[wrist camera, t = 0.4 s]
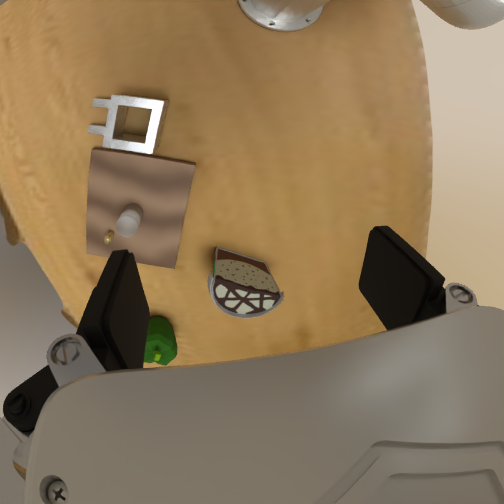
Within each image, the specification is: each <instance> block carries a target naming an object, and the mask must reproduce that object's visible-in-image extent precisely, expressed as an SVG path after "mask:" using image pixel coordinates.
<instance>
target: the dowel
mask: <svg viewBox="0 0 504 504" xmlns="http://www.w3.org/2000/svg"><path fill="white" fill-rule="evenodd" d="M114 234H115V233H114V231H113V230H109V231H108V232H107V234H106V236H105V238H104V243H106V244H110V242H111V240H112V238H113V236H114Z"/></svg>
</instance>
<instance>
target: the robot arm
mask: <svg viewBox="0 0 504 504" xmlns="http://www.w3.org/2000/svg"><path fill="white" fill-rule="evenodd" d="M329 1H331V0H245V2H243V1H242V0H238V2H239V5H240V7H241V9H242V10H243V12H244V13H245V14H246V15H247V16H248V18H249V19H251V20H252V21H253V22H255V23H256V24H258V25H260V26H262V27H264V28H267V29H270V30H274V31H280V32H291V31H297V30H301V29H303V28H305V27H308V26H309V25H311V24H313V23H314V22H315V21H316V20H317V19H318V18H319V16H320V14H321V12H322V10H323V5H324V4H326V3H327V2H329ZM420 1H421V2H423V3H424V4H425V5H426V6H427V7H428V8H429V9H431V10H432V11H433V12H434V13H435V14H436V15H438V16H439V17H440V18H441V19H443V20H444V21H446V22H447V23H449V24H451V25H453V26H455V27H459V28H462V29H469V30H471V29H480V28H485V27H488V26H491V25H493V24H495V23H497V22H499V21H501V20H502V19H504V0H420ZM306 20H307V21H308V22H306ZM269 24H272V26H270V25H269ZM444 281H445V278H444V277H443V276H442V275H441V274H440V273H439V272H438V271H437V270H436V269H435V268H434V267H433V266H432V265H431V264H430V263H429V262H427V260H426V259H425V258H423V257H422V256H421V255H420V254H419V253H418V252H417V251H416V250H415V249H414V248H413V247H411V246H410V245H409V244H408V243H407V242H406V241H405V240H404V239H402V238H401V237H400V236H399V235H398V234H397V233H395V232H394V231H393V230H392V229H391V228H390V227H388V226H375V227H374V228H373V230H371V231H370V233H369V238H368V243H367V248H366V253H365V257H364V262H363V267H362V271H361V275H360V280H359V289H360V291H361V293H362V294H363V296H364V297H365V298H366V300H367V301H368V303H369V304H370V306H371V307H372V308H373V310H374V311H375V313H376V314H377V316H378V317H379V319H380V320H381V322H382V323H383V325H384V326H385V328H386V329H387V331H383V332H380V333H376V334H372V335H368V336H364V337H359V338H355V339H351V340H347V341H342V342H338V343H333V344H328V345H323V346H319V347H313V348H308V349H303V350H298V351H292V352H286V353H280V354H274V355H268V356H261V357H254V358H247V359H240V360H232V361H223V362H214V363H204V364H193V365H182V366H168V367H155V368H143V363H144V354H145V346H146V338H147V331H148V324H149V317H150V312H149V307H148V304H147V300H146V297H145V294H144V290H143V287H142V283H141V280H140V276H139V272H138V268H137V265H136V261H135V257H134V254H133V253H132V252H131V253H129V251H128V250H127V249H123V250H114V251H112V253H111V255H110V257H109V259H108V261H107V263H106V266H105V268H104V270H103V272H102V275H101V277H100V279H99V282H98V284H97V286H96V287H95V288H94V289H93V291H92V294H91V296H90V298H89V301H88V303H87V306H86V308H85V311H84V313H83V316H82V319H81V321H80V324H79V327H78V329H77V332H76V334H66V335H63V336H61V337H59V338H57V339H56V340H55V341H53V343H52V344H51V345H50V347H49V349H48V351H47V356H46V357H47V362H48V364H49V365H47V366H46V367H44V368H43V369H41V370H40V371H39V372H37V373H36V374H34V375H33V376H32V377H30V378H29V379H27V380H26V381H25V382H23V383H22V384H20V385H19V386H18V387H16V388H15V389H14V390H12V391H11V392H10V393H9V394H8V395H7V397H6V399H5V401H4V404H3V413H4V417H3V418H2V419H1V418H0V504H504V311H503V310H501V309H498V308H495V307H486V306H478V305H477V300H476V296H475V294H474V293H473V292H472V291H471V290H470V289H469V288H468V287H466V286H465V285H462V284H459V283H450V284H448V285H447V286H446V288H445V289H444V288H443V284H444Z"/></svg>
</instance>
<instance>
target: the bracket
mask: <svg viewBox="0 0 504 504" xmlns="http://www.w3.org/2000/svg"><path fill="white" fill-rule="evenodd" d="M168 103H169V100H162V99H156V98H149V97H141V96H133V95H124V94H120V95H112V96H111V99H103V98H94V100H93V107H105V108H109V111H108V116H107V121H106V125H99V124H91V125H89V129H88V133H93V134H102V135H104V140H103V147H106V148H114V149H122V150H129V151H135V152H142V153H148V154H153V153H154V151H155V150H156V149H157V148H158V147H159V142H160V137H161V133H162V128H163V124H164V119H165V115H166V111H167V107H168ZM128 106H134V107H141V108H149V109H152V113H151V118H150V122H149V127H148V131H147V136H140V135H133V134H125V133H123V130H124V125H125V120H126V115H127V110H128Z"/></svg>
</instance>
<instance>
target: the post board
mask: <svg viewBox="0 0 504 504" xmlns="http://www.w3.org/2000/svg"><path fill="white" fill-rule="evenodd" d="M195 166H196V163H192V162H186V161H181V160H176V159H170V158H164V157H158V156H152V155H146V154H140V153H133V152H126V151H119V150H112V149H104V148H96V147H95V148H93V149H92V151H91V160H90V170H89V182H88V197H87V254H91V255H97V256H102V257H108V258H109V257H110V255H111V253H112V251H114V250H123V249H127V250H128V251H129V253H131V252H132V253H133V254H134V257H135V261H136V263H142V264H148V265H154V266H160V267H166V268H172V269H175V265H176V259H177V253H178V248H179V242H180V237H181V231H182V226H183V221H184V216H185V211H186V206H187V202H188V197H189V192H190V188H191V183H192V179H193V174H194V170H195ZM109 230H113V231H114V233H115V234H114V236H113V238H112V240H111V242H110V244H106V243H104V238H105V236H106V234H107V232H108V231H109Z"/></svg>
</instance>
